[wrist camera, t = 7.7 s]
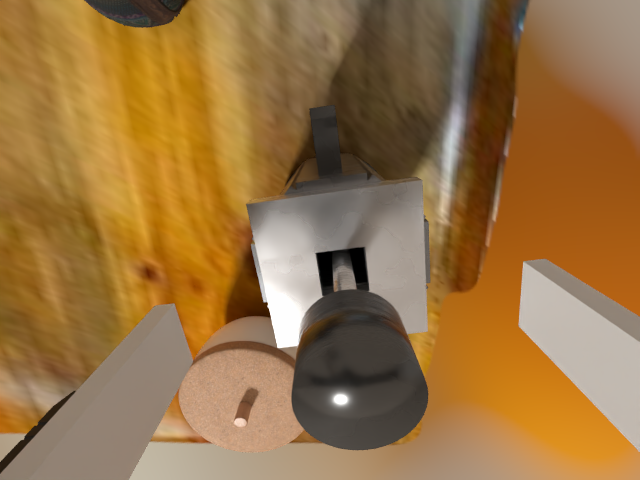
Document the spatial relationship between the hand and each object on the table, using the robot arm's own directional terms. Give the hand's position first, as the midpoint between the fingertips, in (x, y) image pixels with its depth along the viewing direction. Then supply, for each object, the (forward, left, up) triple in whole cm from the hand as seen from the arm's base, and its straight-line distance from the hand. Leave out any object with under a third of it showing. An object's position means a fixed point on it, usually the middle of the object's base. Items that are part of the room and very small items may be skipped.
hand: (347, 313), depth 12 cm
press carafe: (-2, 0, -17) cm, 17 cm away
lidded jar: (+13, -9, -17) cm, 23 cm away
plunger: (0, 0, -14) cm, 14 cm away
